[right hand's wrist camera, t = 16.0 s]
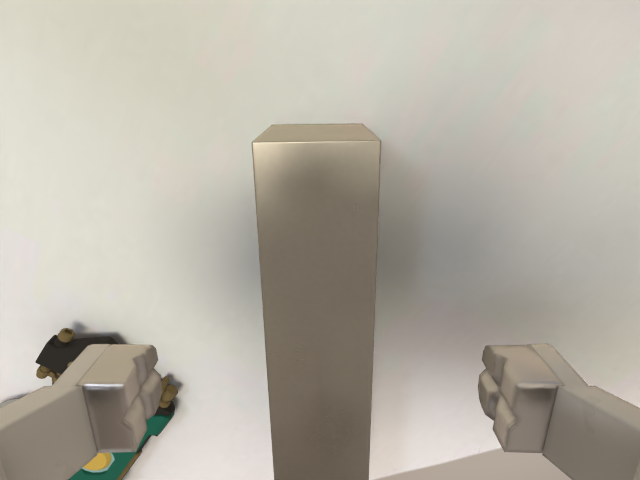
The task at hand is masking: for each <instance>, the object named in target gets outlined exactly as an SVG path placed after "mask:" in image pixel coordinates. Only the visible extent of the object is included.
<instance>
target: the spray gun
mask: <svg viewBox="0 0 640 480" xmlns="http://www.w3.org/2000/svg"><path fill="white" fill-rule="evenodd" d="M73 336H74V332H73V330H71V329H68V328H64V329H62V330H61V331H60V333H59V334H58V336H57V335H54V336H53V337H52V338H51V339H50V340H49V341H48V342H47V343H46V345H45V347H44V348H43V350H42V352H41V353H40V355H39V357H38V358H37V360H36V363H38V364H40V367H39V368H38V370H37V374H36V375H37V377H38V378H40V379H43V378H45V377H47V376H50V377H52V381H53V383H52V385H53V384H54V383H55V381H56V380H57V379H58V378H59V377H60V376H61V375H62V374H63V373H64V371H65V370H66V369H67V368H68V367H69V366H70V365H71V364H72V363H73V362H74V360H75V359H76V358H77V357H78V356H79V355H80V354H81V353H82V352H83V350H84V349H85V348H86V347H87V346H89V345H92V344H111V345H113V344H118V343H117V342H116V341H115V340H114V339H113V338H112V337H99V338H85V339H73ZM168 381H169V377H164V378H163V380H162V381H161V382H162V394H161V398H160V403H159V406H158V408H157V410H156V413H155V415H153V416H152V417H151V418H149V419H148V420H146V425H147V431H146V433H145V435H144V436H143V438H142V440H141V442H140V444H139V446H138V448H137V450H136V452H114V453H97V456H96V457H95V458H93V459H92V460H91V461H90V462H89V463H87V464H86V465H85V466H84V467H83V468H81V469H80V470H79V471H78V472H77V473H75V474H74V475H73V476H72V477H71V478H69V479H68V480H122V478H123V477H124V475H125V474H126V473H127V471H128V470H129V469H130V467H131V466H132V465H133V463H134V462H135V461H136V459H137V458H138V457H139V455H140V454H141V452H142V447H143V446H144V445H145V443H146V442H147V441H148V439H149V438H150V437H151V435H155V436H158V434H160V433H161V432H162V430H163V429H164V428H165V426H166V425H167V424H168V422H169V421H170V419H171V418H172V417H173V415H174V410H175V405H174V403H173V402H172V401H171V400H173V399H174V397H175V396H176V394H177V393H178V390H177V388H176V387H175V386H173V385H167V383H168ZM16 400H18V399H12V400H8V401H5V402H3V403H1V404H0V408H1V407H3V406H5V405H8V404H10V403H12V402H14V401H16Z"/></svg>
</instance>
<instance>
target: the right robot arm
mask: <svg viewBox="0 0 640 480" xmlns="http://www.w3.org/2000/svg"><path fill="white" fill-rule="evenodd" d="M157 361H158V357H157V352H156V348H155V347H154V346H153V345H126V344H113V345H111V344H92V345H89V346H87V347H86V348H85V349H84V350H83V352H82V353H81V354H80V355H79V356H78V357H77V358H76V359H75V360H74V362H73V363H72V364H71V365H70V366H69V367H68V368H67V369H66V370H65V371H64V373H63V374H62V375H61V376H60V377H59V378H58V379H57V380H56V381H55V383H54V384H53V385H52V386H44V387H42V388H40V389H38V390H36V391H34V392H32V393H30V394H28V395H26V396H24V397H22V398H20V399H18V400H16V401H14V402H12V403H10V404H8V405H5V406H3V407H1V408H0V480H68V479H69V478H71V477H72V476H73V475H74V474H75V473H77V472H78V471H79V470H80V469H81V468H83V467H84V466H85V465H86V464H87V463H89V462H90V461H91V460H92V459H93V458H95V457H96V456H97V453H114V452H136V450H137V448H138V446H139V444H140V442H141V440H142V438H143V436H144V435H145V433H146V431H147V425H146V420H148V419H149V418H151V417H152V416H153V415H155V413H156V410H157V408H158V406H159V403H160V398H161V394H162V382H161V375H160V374H159V373H158V372H157V371H156V370H155V369H154V366H155V365H156V363H157ZM482 361H483V363H484V365H485V366H486V369H485V370H484V371H483V372H482V373H481V374H480V375H479V384H478V391H479V399H480V403H481V406H482V408H483V411H484V413H485V415H487V416H488V417H489V418H491V419H492V420H494V425H493V431H494V433H495V435H496V436H497V438H498V440H499V442H500V444H501V446H502V448H503V450H504V452H527V453H543V454H542V455H543V456H545V457H546V458H547V459H548V460H549V461H550V462H552V463H553V464H554V465H555V466H556V467H558V468H559V469H560V470H561V471H562V472H564V473H565V474H566V475H567V476H568V477H570V478H571V479H572V480H640V408H638V407H636V406H634V405H632V404H630V403H628V402H626V401H624V400H622V399H620V398H618V397H616V396H614V395H612V394H610V393H608V392H606V391H604V390H602V389H600V388H598V387H596V386H588V385H587V384H586V383H585V381H584V380H583V379H582V378H581V377H580V376H579V375H578V374H577V373H576V371H575V370H574V369H573V368H572V367H571V366H570V365H569V364H568V363H567V362H566V360H565V359H564V358H563V357H562V356H561V355H560V354H559V353H558V352H557V350H556V349H555V348H554V347H553V346H551V345H549V344H528V345H494V346H486V347H485V349H484V351H483V356H482Z"/></svg>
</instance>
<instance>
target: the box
mask: <svg viewBox="0 0 640 480" xmlns="http://www.w3.org/2000/svg"><path fill="white" fill-rule="evenodd" d="M252 153H253V168H254V183H255V198H256V213H257V228H258V243H259V258H260V273H261V288H262V303H263V318H264V333H265V348H266V362H267V377H268V392H269V407H270V422H271V437H272V452H273V467H274V480H369V454H370V427H371V400H372V373H373V346H374V319H375V291H376V264H377V237H378V210H379V183H380V156H381V140H380V139H379V138H378V137H376V136H375V135H374V134H373V133H372V132H371V131H370V130H369V129H368V128H367V127H366V126H365V125H363V124H293V125H271V126H270V127H269V128H268V129H267V130H266V131H264V132H263V133H262V134H261V135H260V136H259V137H257V138H256V139H255V140H254V141H253V142H252Z"/></svg>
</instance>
